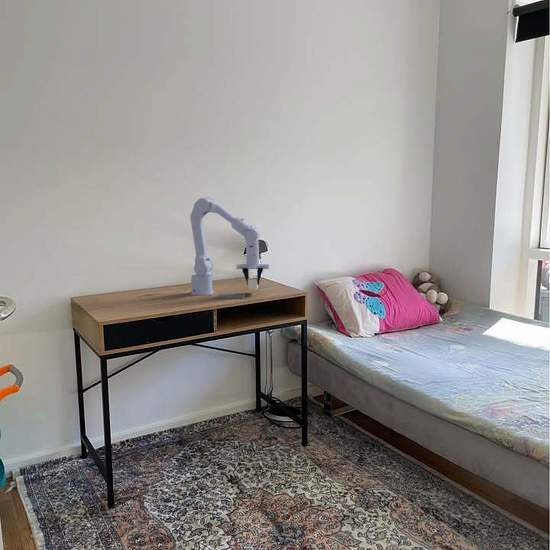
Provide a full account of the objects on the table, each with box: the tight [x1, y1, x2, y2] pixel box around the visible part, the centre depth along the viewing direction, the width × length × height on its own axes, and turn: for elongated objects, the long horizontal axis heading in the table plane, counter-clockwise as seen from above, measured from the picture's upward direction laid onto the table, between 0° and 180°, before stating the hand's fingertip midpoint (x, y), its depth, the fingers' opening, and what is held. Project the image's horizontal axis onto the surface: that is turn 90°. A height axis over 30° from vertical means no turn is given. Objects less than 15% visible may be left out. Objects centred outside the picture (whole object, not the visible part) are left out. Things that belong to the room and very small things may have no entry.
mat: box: [216, 292, 247, 299], centre depth 246 cm, size 12×9×1 cm
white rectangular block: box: [247, 275, 259, 291], centre depth 248 cm, size 4×8×4 cm, turn 178°
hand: (253, 284), depth 249 cm, fingers closed on white rectangular block, 4 cm apart
